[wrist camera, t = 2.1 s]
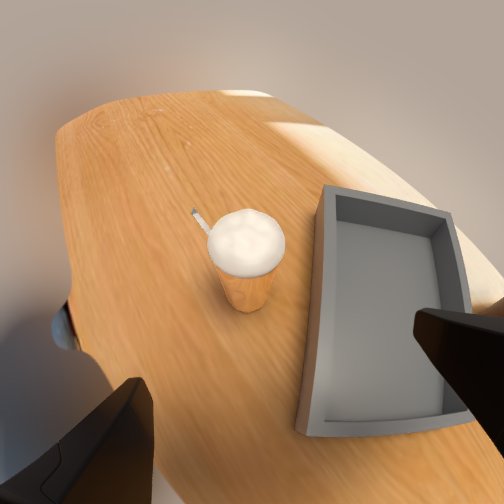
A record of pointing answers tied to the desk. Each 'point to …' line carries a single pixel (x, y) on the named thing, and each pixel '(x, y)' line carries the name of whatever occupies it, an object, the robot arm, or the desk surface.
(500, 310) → the walnut cylinder
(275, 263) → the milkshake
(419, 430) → the tray
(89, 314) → the desk surface
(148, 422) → the robot arm
